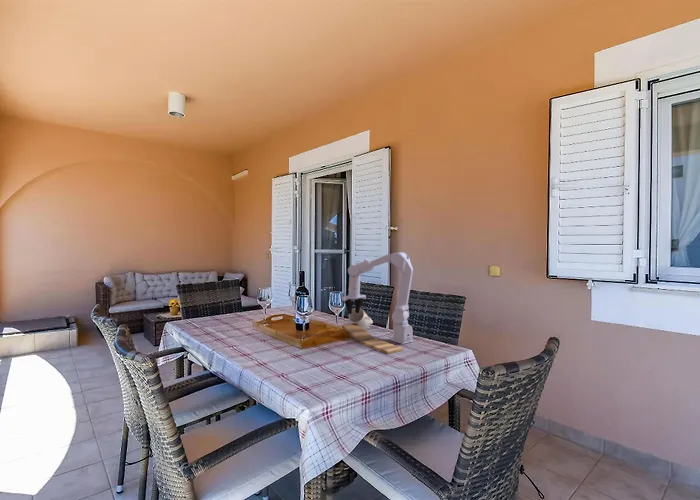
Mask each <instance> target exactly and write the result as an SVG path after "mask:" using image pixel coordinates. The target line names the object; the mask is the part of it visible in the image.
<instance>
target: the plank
mask: <svg viewBox="0 0 700 500" xmlns="http://www.w3.org/2000/svg"><path fill="white" fill-rule="evenodd" d="M341 328H342V329H343V330H344V331H346V332H347V333H348V334H349V336H351V337H352V338H353V339H355V341H357V343H359V344H360V340H364V339H369V338H374V337H375V336H373V335H372V334H370V333H369V332H368V331H367V330H364V329H363V328H362V327H361V326H359V325H358V324H354V323H352V322H350V323H346V324H342V325H341Z"/></svg>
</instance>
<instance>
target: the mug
mask: <svg viewBox="0 0 700 500" xmlns="http://www.w3.org/2000/svg"><path fill="white" fill-rule="evenodd" d="M348 320H349V321H350V323H354V324H358V325H359V326H361V327H362V328H363V329H364V330H365V331H367V329H369V327H370V325H373V323H374V321H373V320H372V318H371V317H370V316H369V315H368V314H367V313H366V312H365V310H364V309H363V308H361V307H360V310H359V313H356V312H355V307H354V308H352V313H351V314H349V313H348Z"/></svg>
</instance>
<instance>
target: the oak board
mask: <svg viewBox="0 0 700 500" xmlns="http://www.w3.org/2000/svg"><path fill="white" fill-rule="evenodd" d="M373 337H374V338H369V339H364V340H360V343H359V344H360V345H363V346H366V347H368V348H370V349H374V350H376V351H379V352H380V353H384V354H385V355H386V354H387V355H391V354H395V353H399V352H402V351H403V350H404V349H403V347H401V346H398V345H395V344H392V343H390V342H387V341H385V340H381V339H379V338H376V337H375V336H373Z"/></svg>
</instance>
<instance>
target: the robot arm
mask: <svg viewBox="0 0 700 500" xmlns="http://www.w3.org/2000/svg"><path fill="white" fill-rule="evenodd" d="M386 263H387V264H392V265H393V266H395V267H396V268H398V269H399V271H400V272H401V276H400V277H401V278H400V284H399V285H400V286H399V290H398V296H397V303H396V305H395V308H394V311H393V312H392V314H391V319H392V322H393V325H392V327H393V328H392V329H393V330H392V331H393V332H392V333H393V334H392V335H393V336H392V337H391V338H389V340H390V341H392V342H395V343H398V344H401V345H405V344H408V343H413V342H414V340H413V338H414V337H413V336H414V335H413V333H414V329H413V327H412V325H410V324H409V321H408V319H410V311H409V299H410V292H411V286H412V280H413V273H414V268H413V265H412V263H411V258H410V256H409V255H408V253H406V252H404V251H399V252H393V253H388V254H385V255H383V256H382V255H381V256H380V257H378V258H376V259H372V260H371V259H367V258H366V259H364V260H363V261H361V262H356V264H353V265H352V264H351V265H350V266H348V269H347V273H348V275H349V280H348V281H349V282H348V285H349V286H348V295H345V296H341V301H342V302H344V304H345V305H346V309H347V314H348V315H349V314H351V313H352V309H353V305H354V308H355V312H356V313H359V310H360V308H361V307H362V305H363V303H364V301H365V300H366V299H367V295H366V294H361V275H363V274H365V273H368V272H371V271H373V270H374V268H375V267H376V266H380V265H382V264H386Z"/></svg>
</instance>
